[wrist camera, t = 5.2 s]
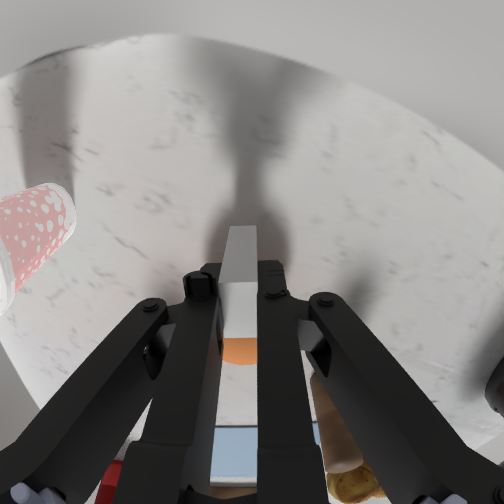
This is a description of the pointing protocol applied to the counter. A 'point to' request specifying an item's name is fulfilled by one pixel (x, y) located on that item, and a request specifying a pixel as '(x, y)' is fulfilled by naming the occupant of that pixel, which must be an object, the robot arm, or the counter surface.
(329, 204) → the counter surface
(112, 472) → the canned food
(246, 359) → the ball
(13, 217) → the beverage cup
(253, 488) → the bar
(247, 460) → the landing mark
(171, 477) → the robot arm
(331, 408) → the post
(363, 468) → the bread roll
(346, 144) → the counter surface
